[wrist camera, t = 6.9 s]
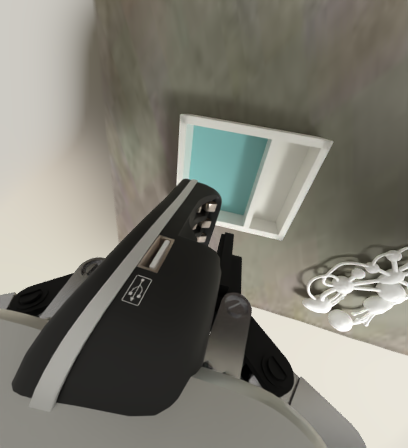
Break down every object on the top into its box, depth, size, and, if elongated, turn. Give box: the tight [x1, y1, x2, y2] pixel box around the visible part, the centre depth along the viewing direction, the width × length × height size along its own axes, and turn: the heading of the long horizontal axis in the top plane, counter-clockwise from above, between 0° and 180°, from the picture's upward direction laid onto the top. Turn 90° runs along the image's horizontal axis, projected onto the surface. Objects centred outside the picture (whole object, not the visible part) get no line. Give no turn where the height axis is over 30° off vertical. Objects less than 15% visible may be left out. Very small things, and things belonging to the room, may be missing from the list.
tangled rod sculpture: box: [302, 247, 408, 331], centre depth 29 cm, size 19×14×4 cm
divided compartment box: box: [176, 114, 334, 241], centre depth 23 cm, size 16×13×4 cm
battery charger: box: [11, 178, 222, 416], centre depth 9 cm, size 7×4×11 cm, turn 166°
